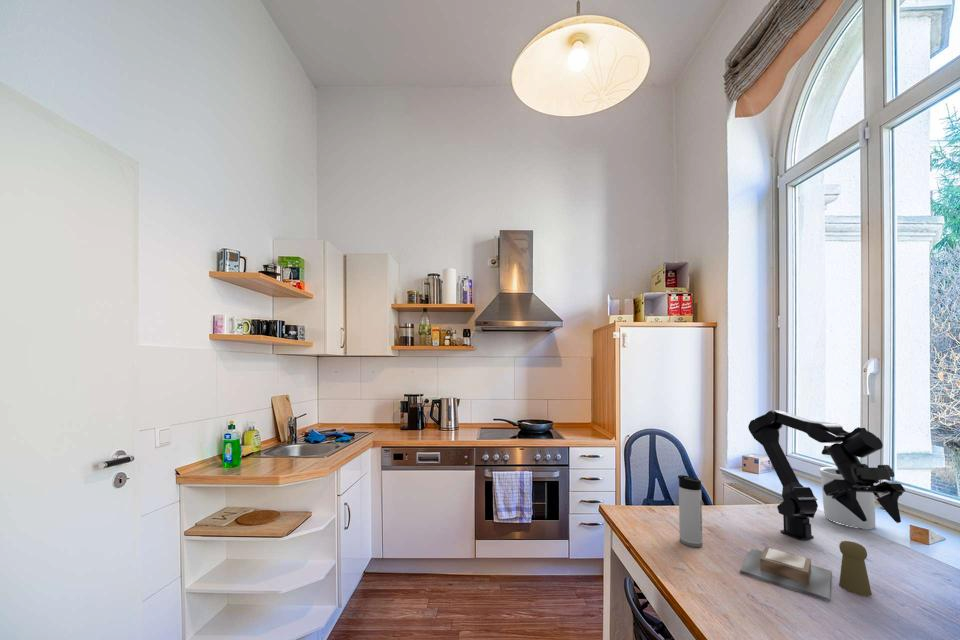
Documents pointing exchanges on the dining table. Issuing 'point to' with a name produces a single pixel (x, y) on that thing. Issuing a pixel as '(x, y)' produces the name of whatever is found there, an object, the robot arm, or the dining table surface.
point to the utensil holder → (839, 511)
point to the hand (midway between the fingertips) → (882, 521)
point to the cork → (854, 569)
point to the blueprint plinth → (811, 590)
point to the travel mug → (690, 511)
